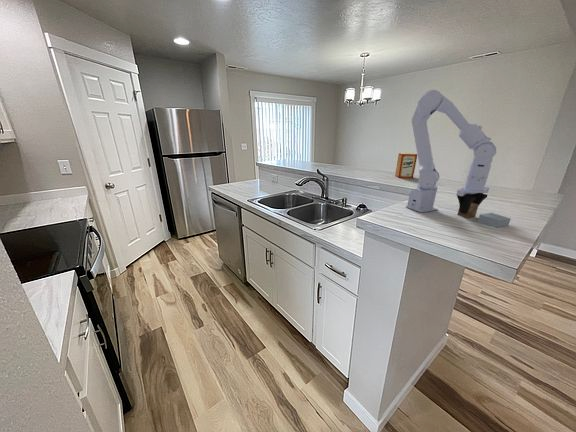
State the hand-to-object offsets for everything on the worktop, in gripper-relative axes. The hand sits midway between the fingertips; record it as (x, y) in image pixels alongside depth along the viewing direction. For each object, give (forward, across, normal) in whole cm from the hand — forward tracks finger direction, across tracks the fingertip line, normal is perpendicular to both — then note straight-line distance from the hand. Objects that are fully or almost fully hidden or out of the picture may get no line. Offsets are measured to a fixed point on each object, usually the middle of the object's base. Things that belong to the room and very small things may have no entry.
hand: (467, 212), depth 89 cm
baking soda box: (+2, +38, +68) cm, 77 cm away
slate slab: (+2, +1, -8) cm, 9 cm away
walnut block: (+2, 0, 0) cm, 2 cm away
